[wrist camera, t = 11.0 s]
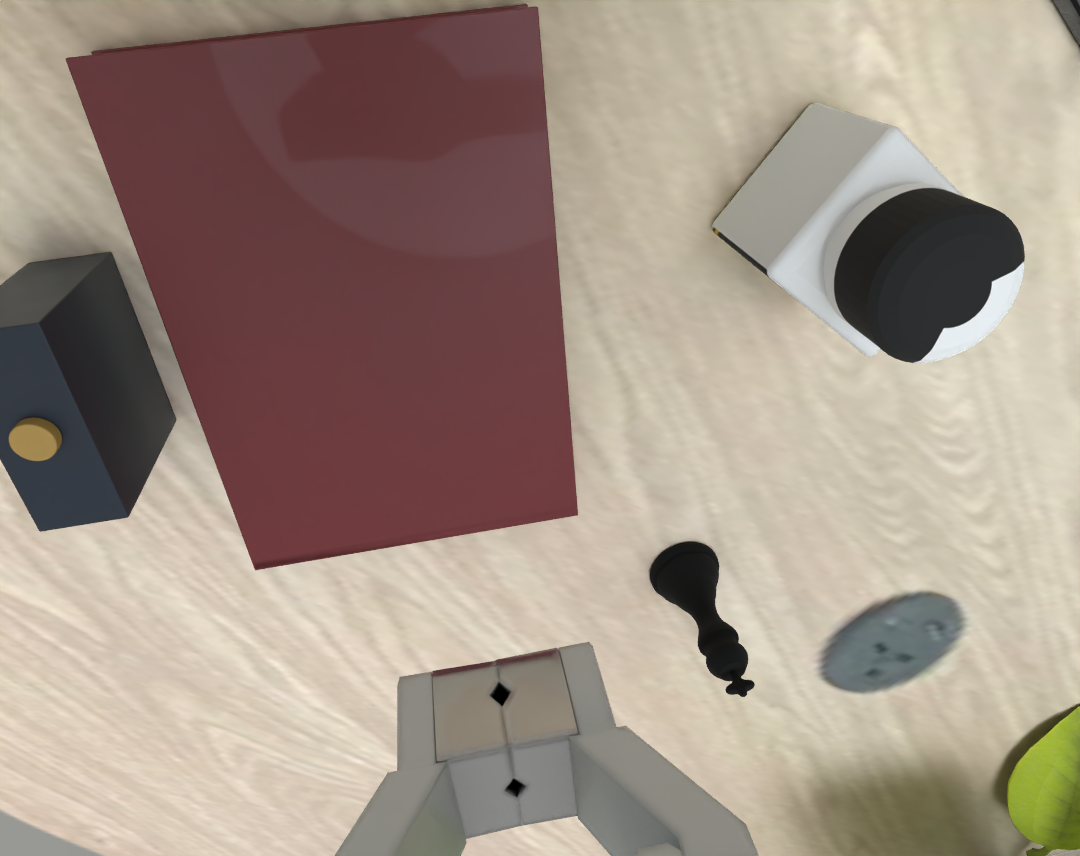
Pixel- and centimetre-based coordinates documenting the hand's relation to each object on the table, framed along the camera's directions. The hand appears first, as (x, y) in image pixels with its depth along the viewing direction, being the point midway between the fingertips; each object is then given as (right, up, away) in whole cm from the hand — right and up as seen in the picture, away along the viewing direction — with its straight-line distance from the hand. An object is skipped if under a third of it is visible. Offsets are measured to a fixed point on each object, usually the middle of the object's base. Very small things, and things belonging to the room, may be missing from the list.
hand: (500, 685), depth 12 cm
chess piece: (+10, -5, +37) cm, 38 cm away
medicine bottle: (+14, +15, +26) cm, 33 cm away
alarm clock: (-19, +6, +20) cm, 28 cm away
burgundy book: (-7, +10, +25) cm, 28 cm away
